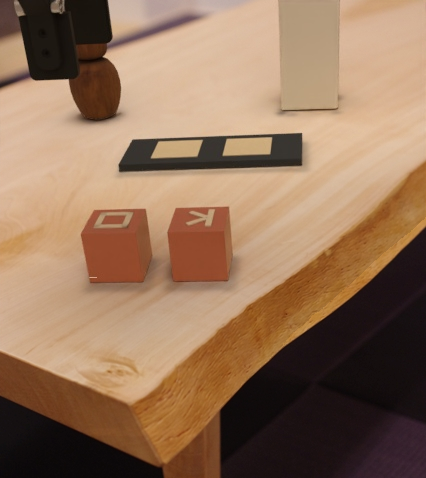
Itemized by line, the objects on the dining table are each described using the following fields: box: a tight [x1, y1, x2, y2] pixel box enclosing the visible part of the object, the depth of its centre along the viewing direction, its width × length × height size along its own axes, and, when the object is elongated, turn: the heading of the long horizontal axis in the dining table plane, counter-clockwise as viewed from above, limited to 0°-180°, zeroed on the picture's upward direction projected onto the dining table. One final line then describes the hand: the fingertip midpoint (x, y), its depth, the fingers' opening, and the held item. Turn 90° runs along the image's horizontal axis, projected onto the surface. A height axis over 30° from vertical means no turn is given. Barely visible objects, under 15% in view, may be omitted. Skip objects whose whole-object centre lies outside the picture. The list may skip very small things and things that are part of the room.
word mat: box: [118, 132, 303, 172], centre depth 84 cm, size 20×8×1 cm, turn 84°
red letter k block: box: [166, 206, 233, 282], centre depth 61 cm, size 4×4×5 cm
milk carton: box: [277, 0, 341, 111], centre depth 92 cm, size 7×7×19 cm
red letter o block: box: [80, 208, 153, 283], centre depth 62 cm, size 4×4×5 cm
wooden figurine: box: [68, 43, 122, 120], centre depth 95 cm, size 7×6×15 cm
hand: (75, 59), depth 52 cm, fingers open, 9 cm apart
